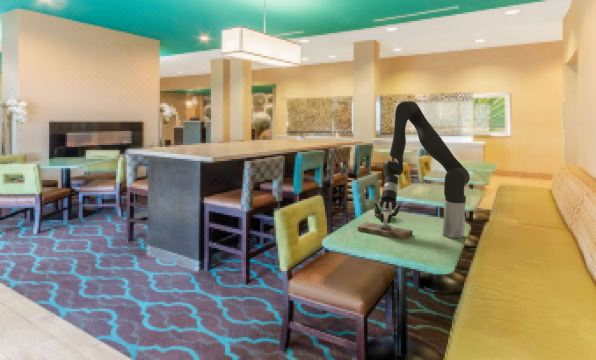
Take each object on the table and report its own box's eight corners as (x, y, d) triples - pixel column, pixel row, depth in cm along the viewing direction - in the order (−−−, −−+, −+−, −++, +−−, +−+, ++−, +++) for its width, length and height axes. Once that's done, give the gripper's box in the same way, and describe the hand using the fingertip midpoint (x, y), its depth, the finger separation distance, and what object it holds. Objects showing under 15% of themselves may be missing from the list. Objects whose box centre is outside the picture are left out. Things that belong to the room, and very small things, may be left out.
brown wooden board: (412, 234, 187) (412, 230, 186) (405, 239, 179) (405, 235, 178) (365, 225, 201) (366, 221, 200) (357, 230, 193) (357, 226, 192)
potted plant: (383, 218, 214) (384, 201, 212) (373, 217, 217) (374, 200, 216) (392, 214, 223) (393, 197, 222) (382, 212, 227) (383, 196, 225)
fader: (391, 227, 189) (391, 208, 188) (387, 229, 186) (388, 210, 185) (383, 226, 192) (384, 207, 190) (380, 228, 189) (381, 209, 187)
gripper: (375, 188, 195) (370, 217, 186) (403, 190, 190) (399, 219, 181) (376, 196, 201) (371, 224, 192) (403, 198, 196) (400, 227, 187)
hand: (385, 222), depth 186 cm, fingers closed on fader, 2 cm apart
